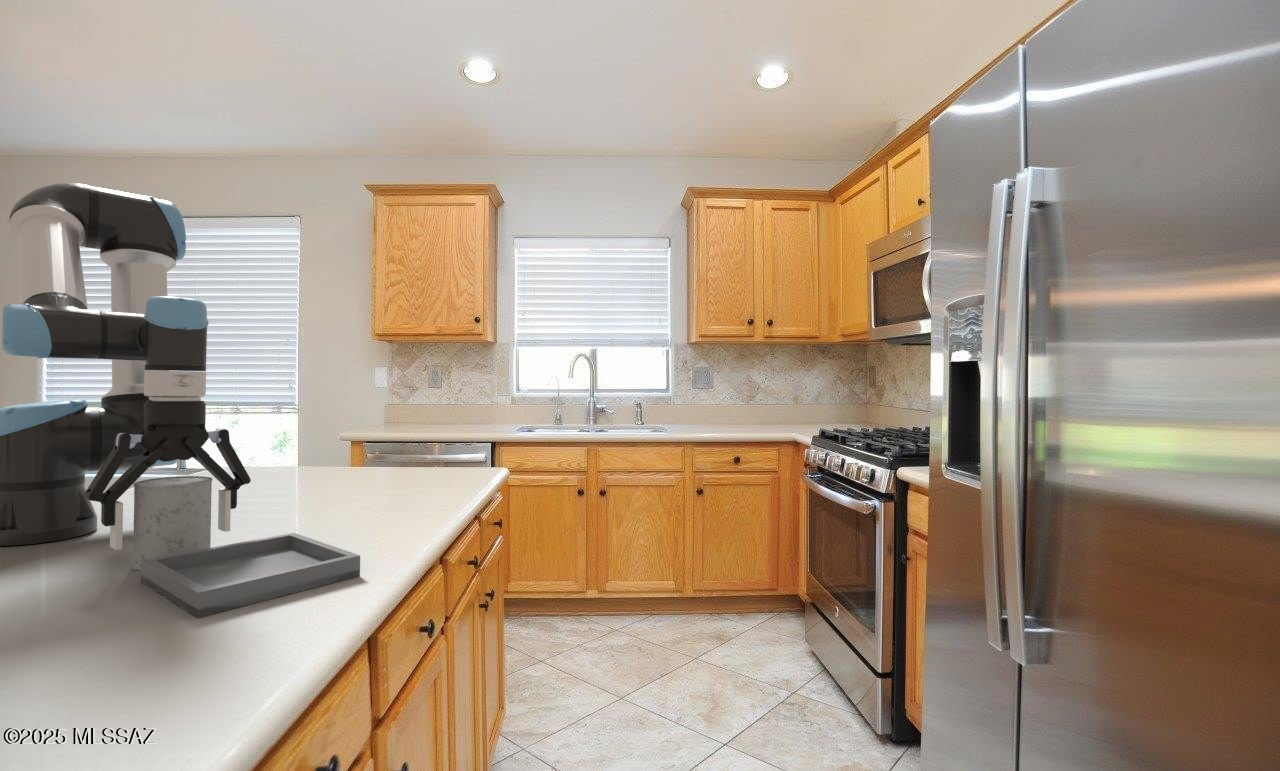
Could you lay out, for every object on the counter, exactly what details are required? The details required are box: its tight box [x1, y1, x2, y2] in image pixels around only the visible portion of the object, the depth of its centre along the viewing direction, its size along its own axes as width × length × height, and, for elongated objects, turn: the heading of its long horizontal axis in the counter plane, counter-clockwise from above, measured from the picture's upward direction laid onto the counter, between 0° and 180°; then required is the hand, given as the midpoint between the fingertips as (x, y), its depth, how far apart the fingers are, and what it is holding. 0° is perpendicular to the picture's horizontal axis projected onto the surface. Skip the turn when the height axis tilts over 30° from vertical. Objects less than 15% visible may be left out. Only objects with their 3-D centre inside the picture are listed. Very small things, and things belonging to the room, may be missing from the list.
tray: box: [140, 532, 361, 619], centre depth 85 cm, size 20×20×3 cm
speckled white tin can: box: [131, 475, 213, 571], centre depth 93 cm, size 10×10×12 cm
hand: (173, 538), depth 93 cm, fingers open, 13 cm apart
